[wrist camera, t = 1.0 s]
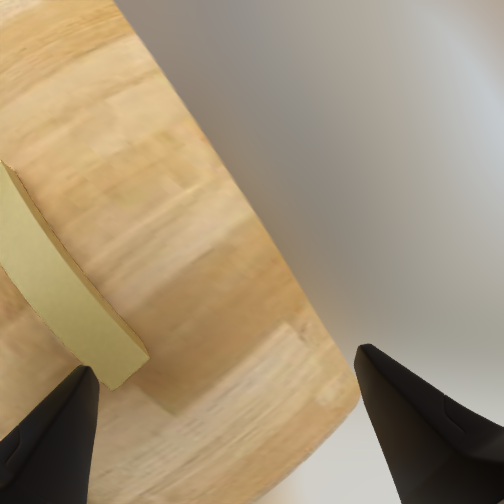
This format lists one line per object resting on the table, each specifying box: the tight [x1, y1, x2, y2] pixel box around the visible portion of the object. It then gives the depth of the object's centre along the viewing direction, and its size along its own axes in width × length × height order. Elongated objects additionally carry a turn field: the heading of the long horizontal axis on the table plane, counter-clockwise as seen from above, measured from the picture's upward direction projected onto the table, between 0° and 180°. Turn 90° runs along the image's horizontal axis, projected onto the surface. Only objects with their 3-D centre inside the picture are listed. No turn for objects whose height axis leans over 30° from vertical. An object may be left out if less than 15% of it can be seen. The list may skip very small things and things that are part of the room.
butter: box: [0, 160, 150, 391], centre depth 15 cm, size 14×3×3 cm, turn 37°
